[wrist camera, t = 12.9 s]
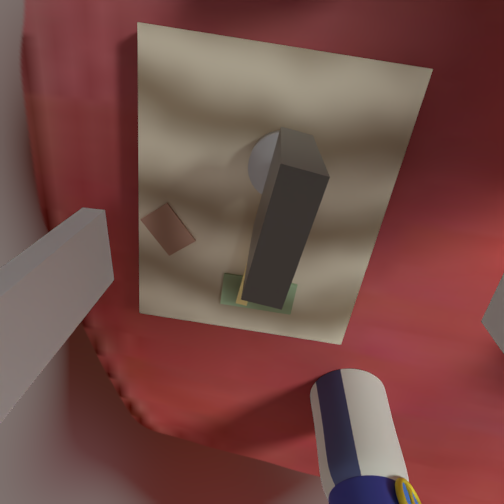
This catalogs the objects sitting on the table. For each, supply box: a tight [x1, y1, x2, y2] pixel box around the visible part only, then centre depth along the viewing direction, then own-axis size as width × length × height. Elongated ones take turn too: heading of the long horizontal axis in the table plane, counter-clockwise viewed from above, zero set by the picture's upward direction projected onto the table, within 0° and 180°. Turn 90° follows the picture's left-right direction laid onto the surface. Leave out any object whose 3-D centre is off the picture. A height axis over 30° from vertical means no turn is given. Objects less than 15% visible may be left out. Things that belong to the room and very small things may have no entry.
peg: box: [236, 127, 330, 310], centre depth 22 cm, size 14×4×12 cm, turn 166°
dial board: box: [137, 22, 433, 345], centre depth 28 cm, size 22×18×2 cm
